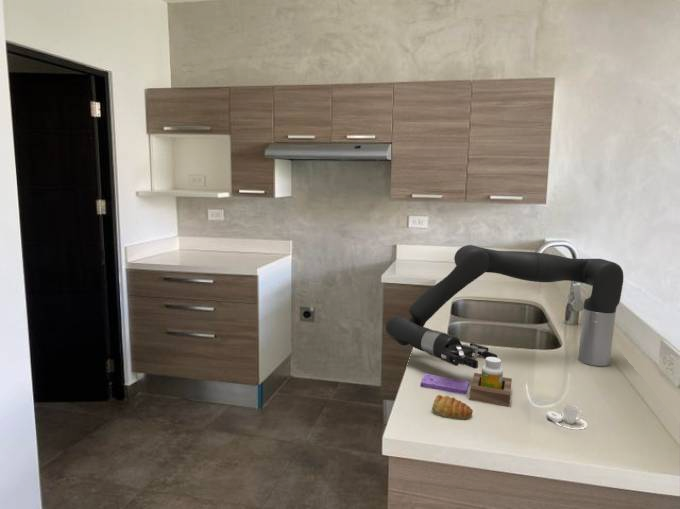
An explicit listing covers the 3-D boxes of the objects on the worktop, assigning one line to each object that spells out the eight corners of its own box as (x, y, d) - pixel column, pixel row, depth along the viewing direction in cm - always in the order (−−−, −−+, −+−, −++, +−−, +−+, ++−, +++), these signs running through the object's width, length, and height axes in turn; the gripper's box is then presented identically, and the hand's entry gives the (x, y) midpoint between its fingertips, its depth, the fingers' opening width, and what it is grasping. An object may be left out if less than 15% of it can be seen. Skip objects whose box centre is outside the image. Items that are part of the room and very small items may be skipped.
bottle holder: (473, 382, 145) (474, 372, 145) (510, 388, 142) (511, 378, 141) (469, 399, 134) (470, 388, 134) (509, 406, 131) (510, 395, 130)
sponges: (424, 379, 148) (425, 373, 148) (469, 387, 144) (470, 380, 143) (419, 388, 141) (420, 381, 141) (466, 396, 137) (466, 389, 137)
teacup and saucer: (542, 421, 124) (543, 405, 123) (556, 411, 130) (557, 396, 129) (579, 435, 118) (581, 418, 117) (592, 424, 123) (594, 408, 123)
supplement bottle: (476, 394, 138) (479, 359, 136) (484, 388, 142) (487, 354, 140) (496, 400, 134) (499, 364, 133) (503, 393, 139) (506, 359, 137)
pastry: (474, 413, 127) (475, 398, 126) (468, 424, 121) (469, 409, 120) (437, 404, 131) (438, 390, 130) (429, 415, 125) (430, 400, 124)
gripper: (424, 336, 146) (471, 353, 133) (457, 329, 154) (503, 343, 142) (423, 362, 147) (469, 380, 134) (455, 353, 156) (501, 369, 143)
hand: (487, 361), depth 138 cm, fingers open, 8 cm apart
